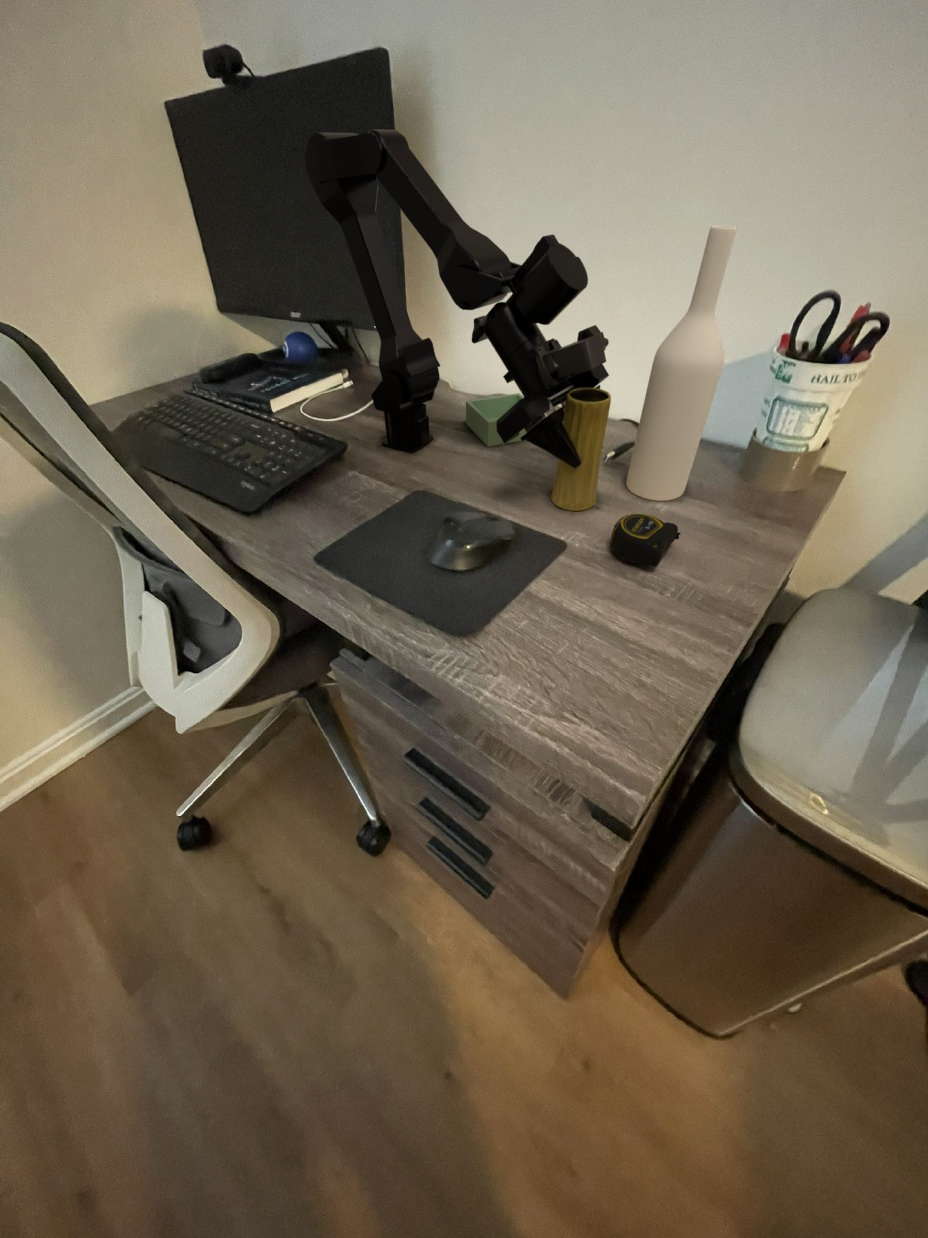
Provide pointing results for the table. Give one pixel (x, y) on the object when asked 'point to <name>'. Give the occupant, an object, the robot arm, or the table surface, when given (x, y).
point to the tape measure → (643, 538)
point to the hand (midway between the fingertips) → (589, 458)
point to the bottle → (682, 384)
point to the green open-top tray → (490, 417)
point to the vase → (582, 448)
